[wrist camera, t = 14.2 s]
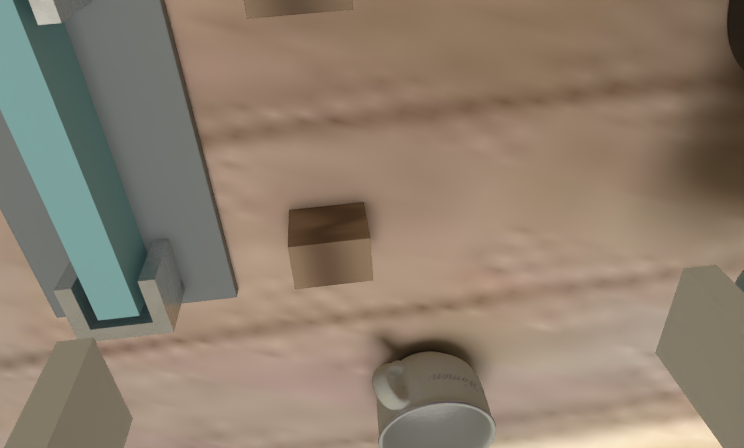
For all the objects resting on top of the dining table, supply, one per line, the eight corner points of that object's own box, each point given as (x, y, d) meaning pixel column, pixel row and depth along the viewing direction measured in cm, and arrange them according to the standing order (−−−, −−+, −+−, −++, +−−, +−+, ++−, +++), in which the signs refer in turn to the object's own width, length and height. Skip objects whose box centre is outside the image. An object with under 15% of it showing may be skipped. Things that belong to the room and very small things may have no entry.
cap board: (129, -136, 30) (124, -136, 30) (237, 289, 48) (236, 297, 47) (-156, -117, 30) (-169, -116, 29) (61, 309, 47) (56, 317, 46)
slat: (36, -55, 31) (-4, -41, 27) (154, 273, 45) (139, 315, 41) (-19, -51, 31) (-68, -36, 27) (116, 277, 45) (98, 320, 40)
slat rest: (341, -80, 33) (347, -71, 29) (366, 242, 47) (373, 280, 42) (241, -72, 33) (232, -62, 29) (295, 250, 46) (295, 289, 42)
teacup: (488, 381, 59) (512, 449, 52) (398, 420, 61) (410, 489, 54) (436, 299, 51) (456, 365, 44) (334, 346, 53) (339, 416, 46)
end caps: (58, -98, 30) (20, -91, 26) (185, 289, 46) (173, 331, 42) (-74, -89, 30) (-134, -79, 26) (99, 298, 46) (79, 342, 41)
